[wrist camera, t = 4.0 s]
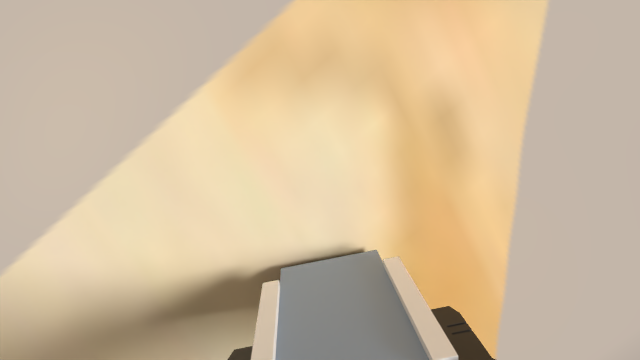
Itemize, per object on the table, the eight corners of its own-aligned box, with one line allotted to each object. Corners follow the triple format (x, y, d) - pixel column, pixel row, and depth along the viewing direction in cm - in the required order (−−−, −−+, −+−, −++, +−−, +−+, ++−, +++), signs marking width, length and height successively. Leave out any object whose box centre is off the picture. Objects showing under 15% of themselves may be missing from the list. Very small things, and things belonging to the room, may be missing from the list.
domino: (381, 283, 20) (451, 445, 11) (288, 301, 19) (283, 479, 11) (376, 249, 19) (445, 390, 10) (280, 268, 19) (269, 426, 10)
